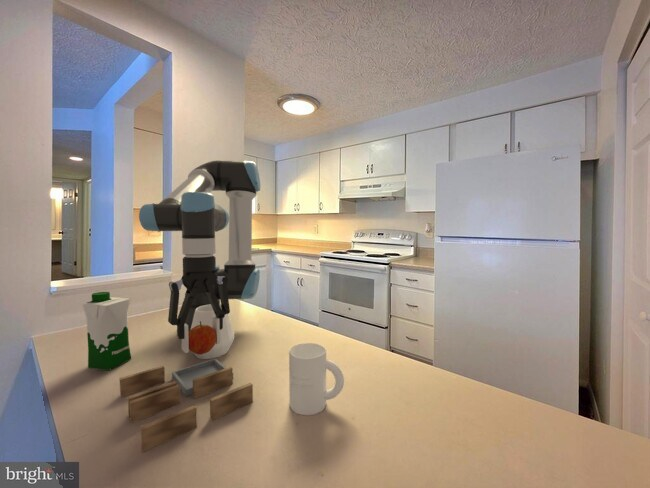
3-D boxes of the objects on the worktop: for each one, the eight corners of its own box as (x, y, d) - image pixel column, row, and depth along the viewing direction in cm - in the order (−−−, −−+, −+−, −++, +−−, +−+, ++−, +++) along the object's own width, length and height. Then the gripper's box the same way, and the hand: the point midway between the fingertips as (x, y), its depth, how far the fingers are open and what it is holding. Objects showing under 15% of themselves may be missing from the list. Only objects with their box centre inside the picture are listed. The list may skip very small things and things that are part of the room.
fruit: (221, 352, 73) (220, 321, 73) (193, 361, 68) (192, 328, 68) (208, 345, 78) (208, 315, 78) (181, 353, 73) (181, 321, 73)
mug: (340, 422, 58) (340, 363, 57) (283, 413, 60) (283, 356, 60) (346, 398, 66) (347, 346, 65) (296, 391, 68) (296, 341, 68)
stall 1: (163, 380, 73) (163, 365, 73) (177, 400, 65) (176, 382, 64) (120, 395, 67) (119, 378, 66) (129, 418, 59) (128, 399, 58)
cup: (243, 346, 94) (242, 303, 93) (215, 365, 81) (213, 316, 80) (209, 341, 98) (208, 300, 97) (177, 358, 85) (176, 311, 85)
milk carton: (111, 355, 87) (108, 289, 86) (137, 358, 85) (134, 290, 84) (81, 369, 79) (77, 296, 77) (109, 372, 77) (105, 298, 76)
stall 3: (230, 382, 72) (230, 366, 72) (252, 401, 64) (252, 384, 64) (193, 396, 66) (192, 379, 66) (212, 420, 58) (211, 401, 58)
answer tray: (215, 363, 82) (215, 358, 82) (233, 379, 74) (233, 373, 73) (172, 378, 74) (171, 372, 74) (186, 396, 66) (186, 390, 66)
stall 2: (178, 402, 64) (178, 384, 64) (196, 427, 56) (196, 407, 56) (130, 420, 58) (129, 401, 58) (142, 452, 50) (141, 429, 50)
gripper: (230, 252, 81) (232, 332, 83) (149, 257, 68) (153, 353, 69) (243, 254, 76) (244, 340, 77) (158, 259, 62) (161, 364, 64)
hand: (201, 346), depth 73 cm, fingers closed on fruit, 7 cm apart
